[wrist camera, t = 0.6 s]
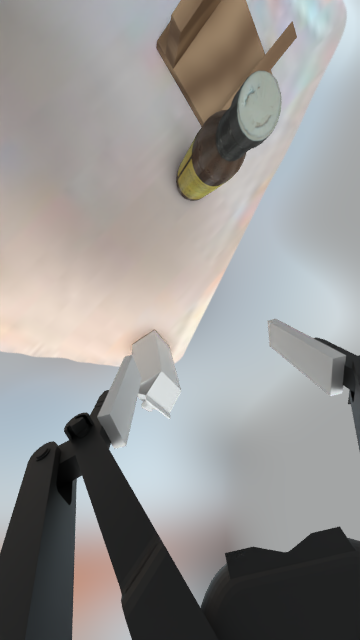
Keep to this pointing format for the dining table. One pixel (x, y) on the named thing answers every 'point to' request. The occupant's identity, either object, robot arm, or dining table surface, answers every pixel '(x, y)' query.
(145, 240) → the dining table surface
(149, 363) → the milk carton
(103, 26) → the dining table surface
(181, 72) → the walnut slotted rack
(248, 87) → the sauce bottle
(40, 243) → the dining table surface
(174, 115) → the dining table surface
